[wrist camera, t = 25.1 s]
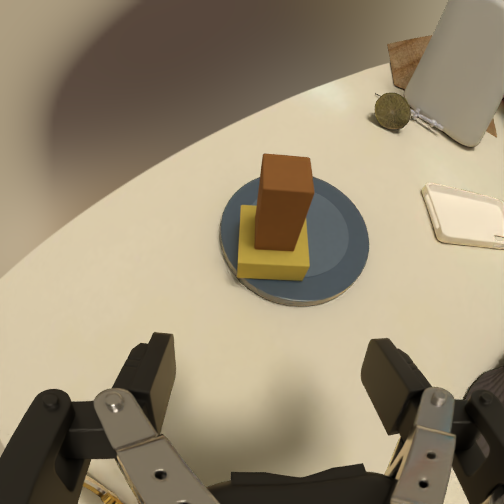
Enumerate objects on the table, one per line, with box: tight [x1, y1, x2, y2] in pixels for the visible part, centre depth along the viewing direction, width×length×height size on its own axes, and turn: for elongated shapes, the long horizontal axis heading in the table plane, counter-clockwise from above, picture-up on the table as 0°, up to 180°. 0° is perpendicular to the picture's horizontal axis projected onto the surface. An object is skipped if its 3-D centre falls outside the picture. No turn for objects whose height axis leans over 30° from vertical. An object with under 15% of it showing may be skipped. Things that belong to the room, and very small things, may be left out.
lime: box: [375, 93, 411, 129], centre depth 35 cm, size 4×5×5 cm
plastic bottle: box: [404, 0, 504, 147], centre depth 29 cm, size 15×15×28 cm
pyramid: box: [387, 35, 497, 137], centre depth 42 cm, size 24×24×15 cm
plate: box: [221, 177, 369, 306], centre depth 26 cm, size 13×13×1 cm
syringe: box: [375, 93, 444, 131], centre depth 38 cm, size 12×2×2 cm, turn 47°
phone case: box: [422, 183, 504, 249], centre depth 29 cm, size 7×1×15 cm
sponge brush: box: [237, 154, 315, 281], centre depth 21 cm, size 5×5×9 cm
